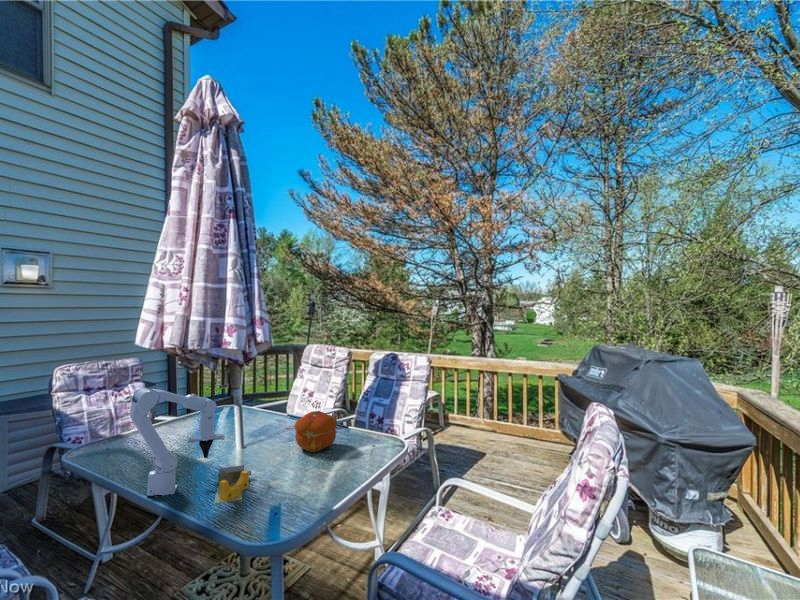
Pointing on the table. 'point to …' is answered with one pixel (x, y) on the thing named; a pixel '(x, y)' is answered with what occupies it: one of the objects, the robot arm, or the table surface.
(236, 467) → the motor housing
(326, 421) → the pumpkin
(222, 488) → the pipe clamp
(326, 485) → the table surface
